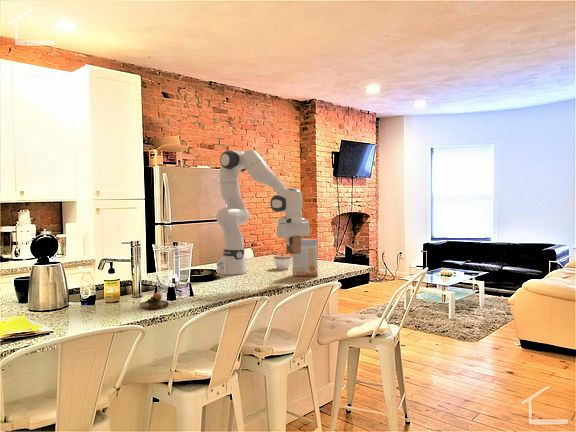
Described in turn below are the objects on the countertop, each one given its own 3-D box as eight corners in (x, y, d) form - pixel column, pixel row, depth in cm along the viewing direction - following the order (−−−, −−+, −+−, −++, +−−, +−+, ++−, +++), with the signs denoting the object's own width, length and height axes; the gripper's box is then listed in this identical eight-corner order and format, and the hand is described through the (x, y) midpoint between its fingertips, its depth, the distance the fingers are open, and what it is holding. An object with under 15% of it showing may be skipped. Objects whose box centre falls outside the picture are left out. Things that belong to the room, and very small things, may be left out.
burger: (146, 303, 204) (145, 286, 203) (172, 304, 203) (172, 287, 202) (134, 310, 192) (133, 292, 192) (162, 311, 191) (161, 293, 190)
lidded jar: (271, 269, 287) (271, 254, 287) (277, 266, 297) (276, 252, 297) (288, 270, 284) (288, 254, 283) (293, 267, 294) (293, 252, 294)
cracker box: (317, 274, 268) (317, 238, 267) (317, 276, 262) (317, 239, 261) (293, 274, 269) (292, 238, 268) (292, 276, 263) (292, 239, 262)
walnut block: (286, 252, 251) (286, 236, 250) (293, 252, 254) (293, 235, 253) (293, 254, 246) (293, 237, 246) (300, 253, 249) (300, 236, 249)
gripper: (305, 218, 258) (304, 243, 259) (275, 219, 245) (274, 245, 246) (312, 218, 253) (312, 244, 254) (282, 220, 240) (281, 247, 241)
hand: (293, 245), depth 250 cm, fingers closed on walnut block, 5 cm apart
